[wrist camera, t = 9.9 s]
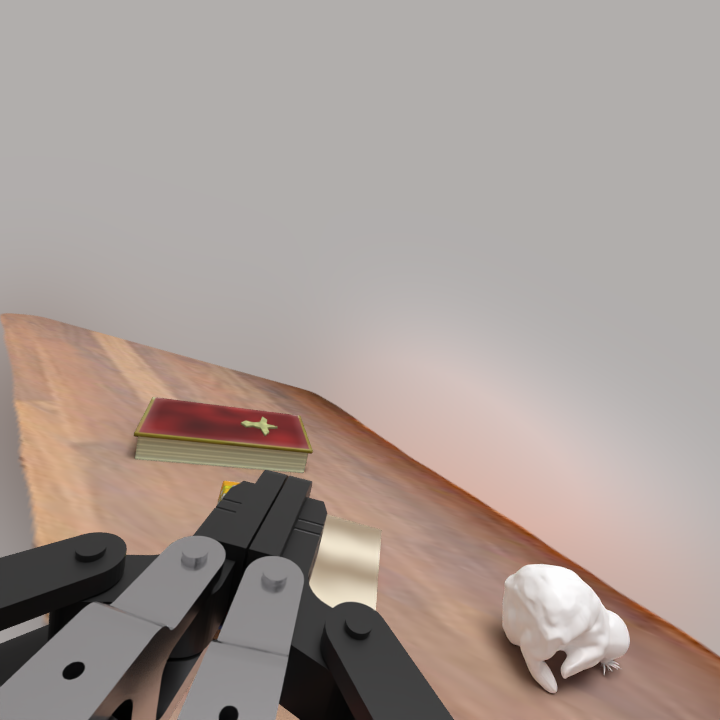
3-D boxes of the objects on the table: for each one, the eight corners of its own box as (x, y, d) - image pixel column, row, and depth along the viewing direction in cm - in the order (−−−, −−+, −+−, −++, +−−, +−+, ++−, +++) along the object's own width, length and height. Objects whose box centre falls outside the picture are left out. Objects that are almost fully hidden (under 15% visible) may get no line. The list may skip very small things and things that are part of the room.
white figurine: (514, 542, 36) (616, 559, 39) (475, 625, 37) (577, 633, 41) (567, 603, 30) (681, 615, 33) (518, 698, 31) (633, 699, 35)
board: (258, 501, 47) (261, 487, 47) (379, 536, 46) (383, 521, 46) (190, 608, 32) (194, 589, 31) (369, 662, 31) (375, 642, 31)
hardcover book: (149, 421, 60) (153, 394, 59) (294, 437, 67) (300, 413, 66) (129, 464, 49) (134, 430, 48) (306, 477, 56) (313, 448, 55)
